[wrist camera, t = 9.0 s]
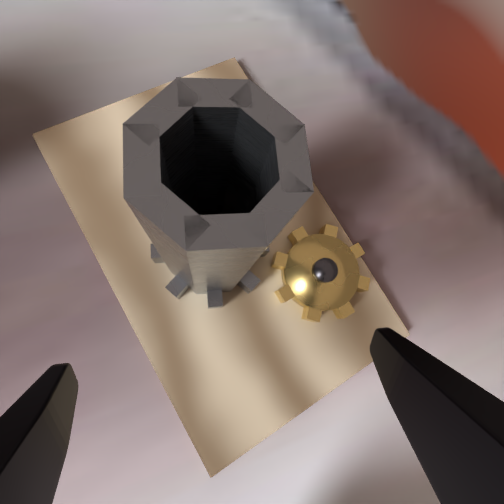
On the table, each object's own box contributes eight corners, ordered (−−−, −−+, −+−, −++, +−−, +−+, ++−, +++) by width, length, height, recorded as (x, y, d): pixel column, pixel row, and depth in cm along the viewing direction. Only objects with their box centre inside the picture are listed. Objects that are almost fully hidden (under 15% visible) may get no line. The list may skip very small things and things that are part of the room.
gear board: (210, 473, 20) (210, 477, 19) (36, 138, 22) (31, 134, 22) (404, 334, 23) (410, 334, 23) (233, 63, 26) (234, 57, 26)
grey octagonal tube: (269, 303, 22) (359, 275, 9) (156, 313, 21) (82, 296, 8) (258, 200, 23) (323, 55, 11) (153, 204, 22) (86, 45, 9)
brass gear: (303, 341, 21) (312, 342, 20) (253, 255, 22) (256, 249, 21) (379, 291, 23) (393, 288, 21) (329, 213, 24) (339, 204, 22)
